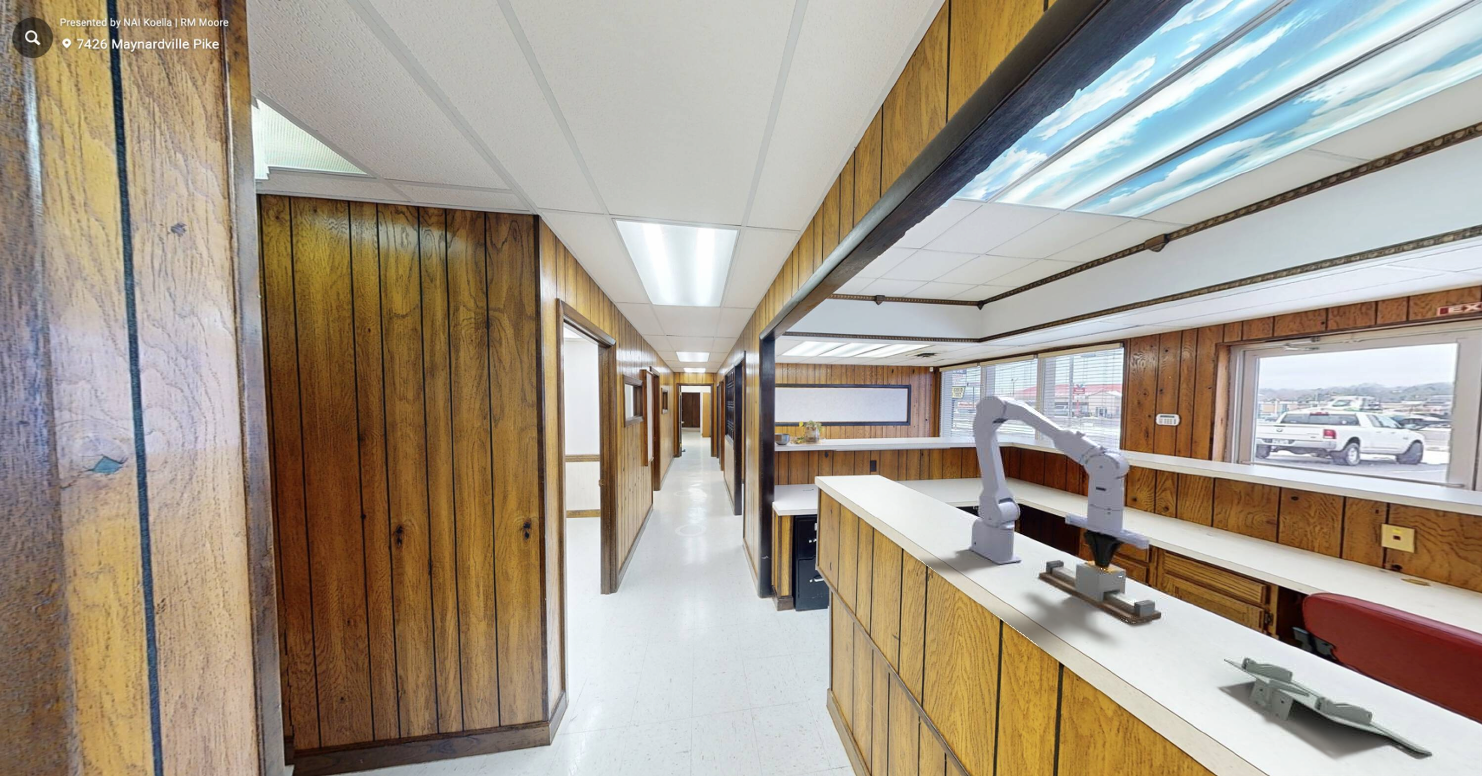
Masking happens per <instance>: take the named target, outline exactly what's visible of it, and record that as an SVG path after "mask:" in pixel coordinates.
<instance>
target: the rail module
mask: <svg viewBox="0 0 1482 776" xmlns="http://www.w3.org/2000/svg"><path fill="white" fill-rule="evenodd" d="M1104 569H1105V570H1104ZM1075 572H1076V580H1075V591H1077V592H1079V593H1081V594H1083V595H1085V596H1087V597H1089V598H1091V599H1093V600H1095V601H1097V602H1099V601H1103V592H1105V591H1111V590H1116V591H1118V592H1120V593H1123V594H1125V595H1126V577H1127V570H1126V569H1124V568H1122V567H1119V566H1116V565H1115V564H1114V565H1113V564H1112V563H1110V565H1109V567H1106V568H1102V569H1101V567H1099V566H1096V565H1095V562H1094V560H1091V561H1090V560H1089V561H1084V563H1078V564H1075ZM1119 576H1122V577H1119Z"/></svg>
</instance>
